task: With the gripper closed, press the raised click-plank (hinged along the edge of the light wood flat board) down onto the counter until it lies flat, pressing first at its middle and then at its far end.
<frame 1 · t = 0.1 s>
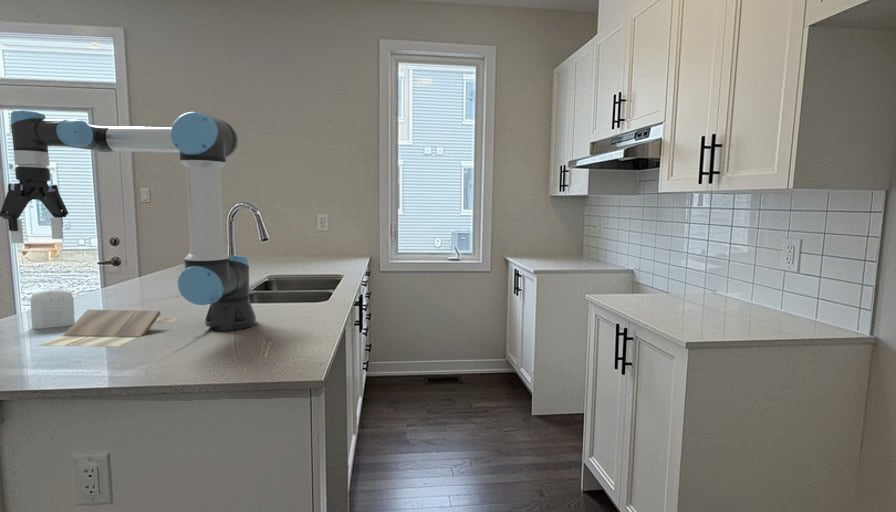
hand: (38, 240, 139), 28 cm above the worktop, fingers open, 13 cm apart
photo printer: (54, 329, 147), on the worktop
light wood flat board: (89, 345, 132), on the worktop
plank: (113, 323, 142), point 3 cm above the worktop, hinge at 28.0°
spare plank: (144, 324, 155), on the worktop
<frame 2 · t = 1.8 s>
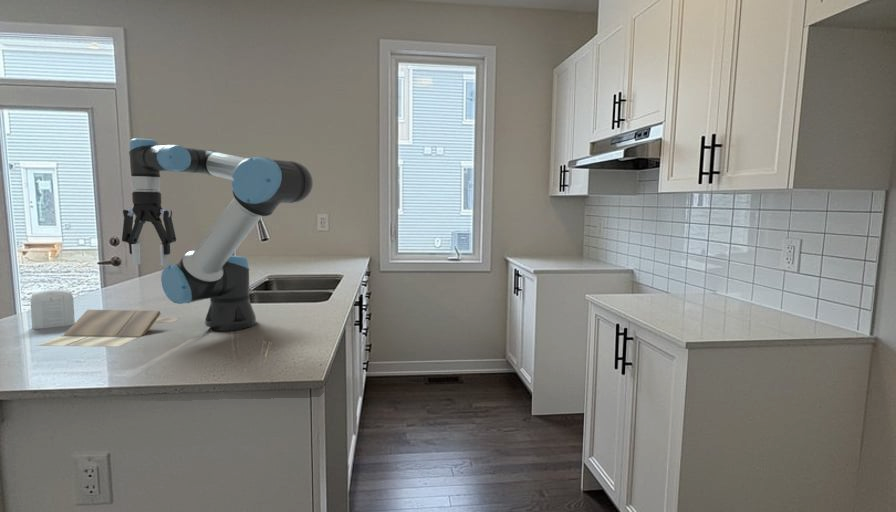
hand: (150, 264, 148), 20 cm above the worktop, fingers open, 8 cm apart
nothing on the worktop moved.
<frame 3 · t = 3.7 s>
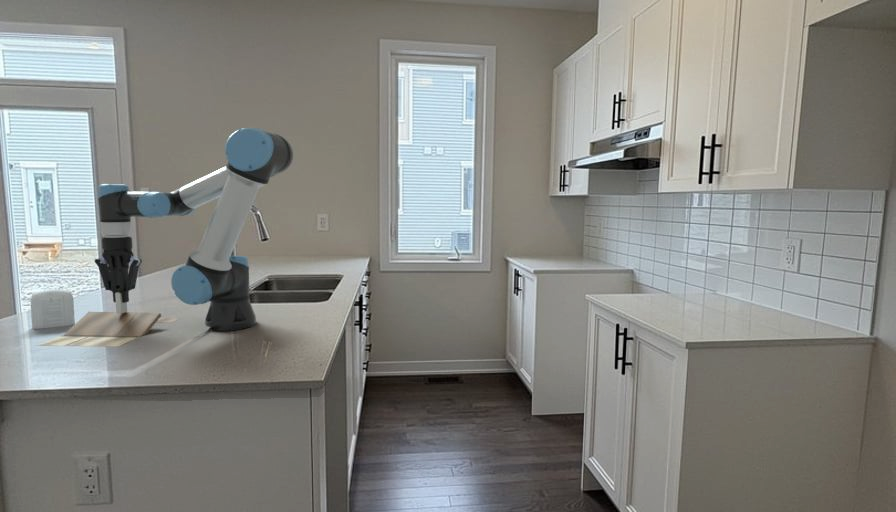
hand: (121, 312, 146), 6 cm above the worktop, fingers closed
plank: (114, 325, 142), point 3 cm above the worktop, hinge at 23.9°, touching gripper
everything else where it was.
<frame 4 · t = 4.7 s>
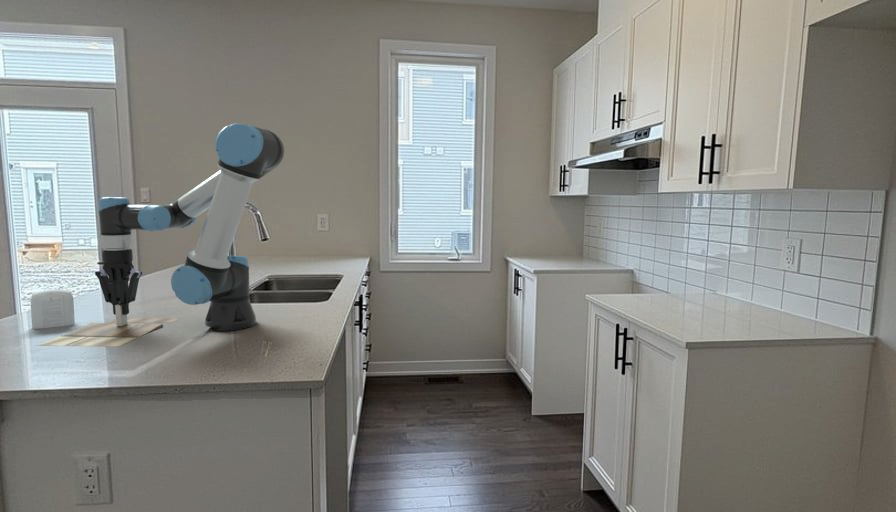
hand: (122, 324, 146), 2 cm above the worktop, fingers closed
plank: (115, 331, 143), point 1 cm above the worktop, hinge at 4.2°, touching gripper
everything else where it was.
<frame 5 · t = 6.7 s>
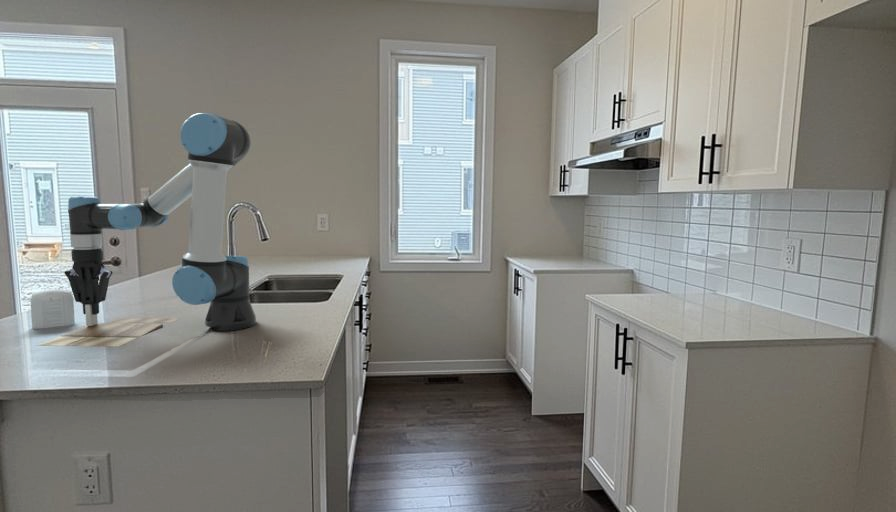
hand: (92, 324, 146), 2 cm above the worktop, fingers closed
nothing on the worktop moved.
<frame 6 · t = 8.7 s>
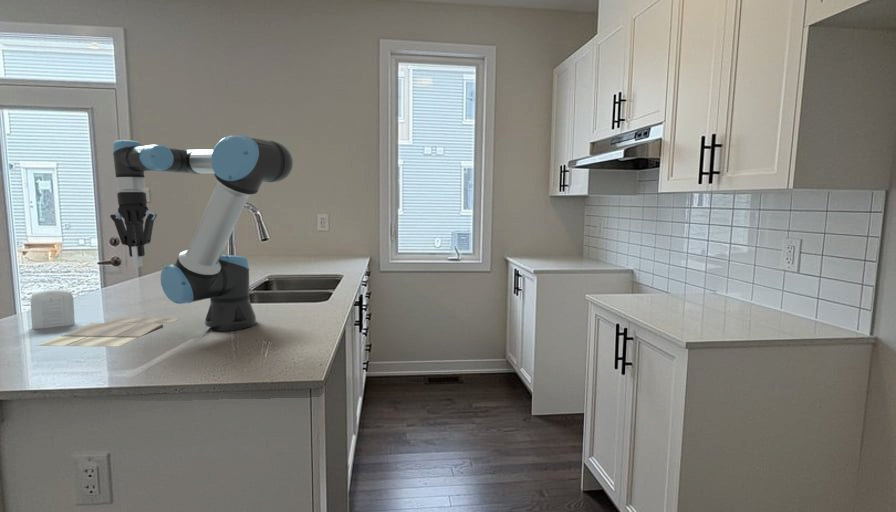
hand: (138, 266, 150), 19 cm above the worktop, fingers closed
plank: (115, 331, 143), point 1 cm above the worktop, hinge at 3.8°
everything else where it was.
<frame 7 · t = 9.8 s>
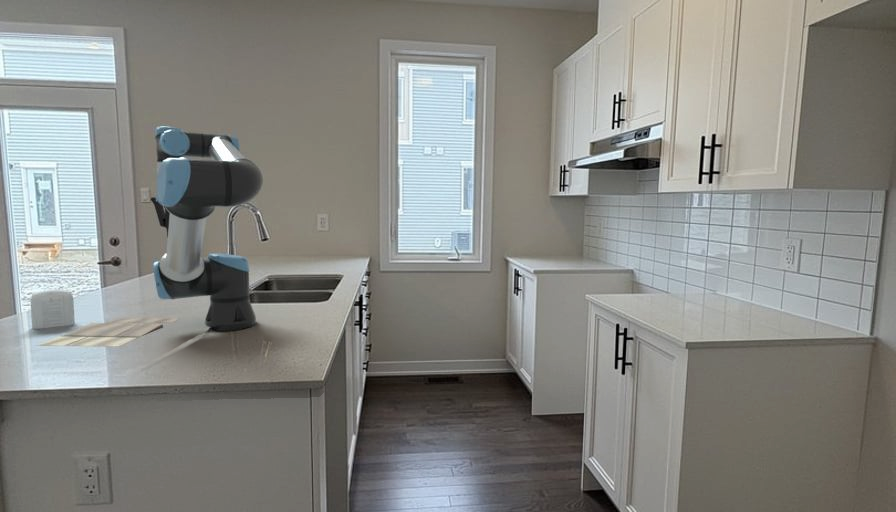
hand: (174, 248, 157), 24 cm above the worktop, fingers closed
nothing on the worktop moved.
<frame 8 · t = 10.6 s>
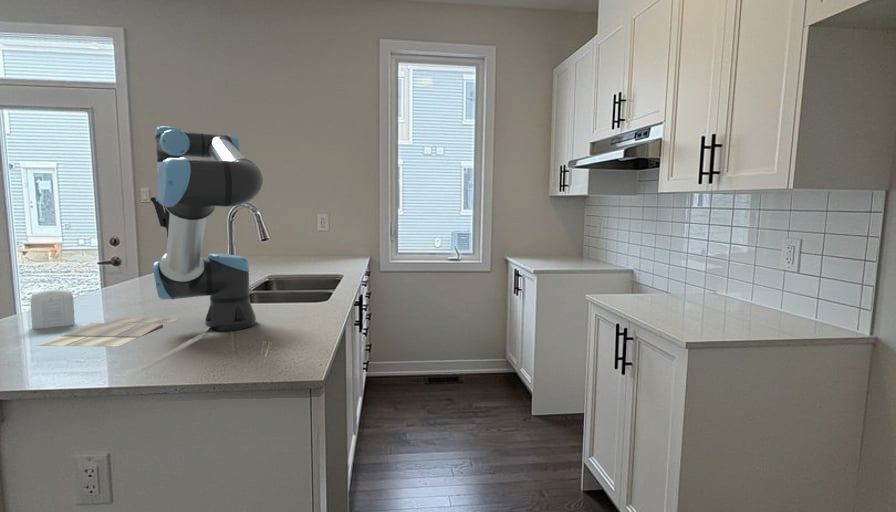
hand: (174, 248, 157), 24 cm above the worktop, fingers closed
nothing on the worktop moved.
at the end: plank at +4° (first picture: +28°) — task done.
